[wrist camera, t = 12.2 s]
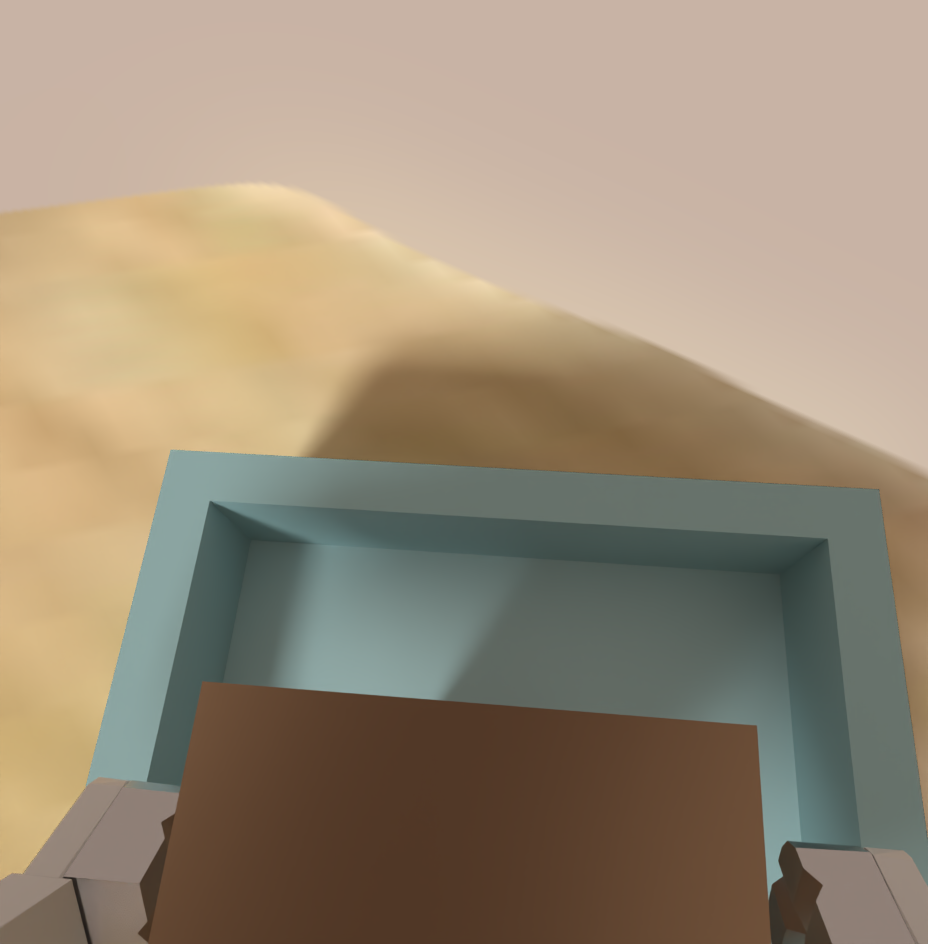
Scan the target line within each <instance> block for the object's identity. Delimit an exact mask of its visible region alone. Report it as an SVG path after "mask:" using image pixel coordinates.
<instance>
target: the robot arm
mask: <svg viewBox="0 0 928 944" xmlns="http://www.w3.org/2000/svg"><path fill="white" fill-rule="evenodd" d="M180 787H181V786H177V785H168V784H160V783H152V782H143V781H135V780H132V781H131V780H122V779H113V778H104V777H98V778H97V779H95V780H94V781H92V782H91V783H89V784H88V785H87V786H86V788H85V789H84V790H83V792H82V793H81V795H80V796H79V797H78V799H77V800H76V801H75V803H74V804H73V806H72V807H71V808H70V810H69V811H68V812H67V814H66V815H65V817H64V818H63V819H62V821H61V822H60V823H59V825H58V826H57V827H56V829H55V830H54V832H53V833H52V834H51V836H50V837H49V838H48V840H47V841H46V843H45V844H44V845H43V847H42V848H41V849H40V851H39V852H38V853H37V855H36V856H35V858H34V859H33V860H32V862H31V863H30V864H29V866H28V867H27V869H26V870H25V871H24V873H23V874H16V873H12V874H10V875H9V876H7V877H5V878H4V879H2V880H0V944H148V941H149V936H150V932H151V927H152V922H153V917H154V912H155V908H156V903H157V898H158V893H159V888H160V883H161V879H162V874H163V869H164V864H165V859H166V854H167V850H168V845H169V840H170V835H171V830H172V826H173V821H174V816H175V811H176V806H177V801H178V797H179V792H180ZM778 862H779V865H780V868H781V871H782V874H783V876H782V877H781V878H780V879H778V880H777V881H776V882H774V883H773V884H772V886H771V891H770V896H769V900H768V902H769V917H770V932H771V943H772V944H928V886H927V885H926V883H925V881H924V879H923V877H922V875H921V874H920V872H919V870H918V868H917V866H916V865H915V863H914V861H913V859H912V858H911V857H910V856H909V855H908V854H907V853H906V852H905V851H903V850H891V849H879V848H868V847H864V848H861V847H860V846H848V845H835V844H822V843H810V842H797V841H786V843H785V844H784V845H783V846H782V848H781V852H780V855H779V859H778Z"/></svg>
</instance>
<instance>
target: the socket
mask: <svg viewBox="0 0 928 944" xmlns="http://www.w3.org/2000/svg"><path fill="white" fill-rule="evenodd" d="M202 681H205V682H217V683H230V684H242V685H255V686H267V687H280V688H292V689H305V690H318V691H330V692H343V693H355V694H368V695H380V696H393V697H406V698H418V699H431V700H443V701H456V702H468V703H481V704H494V705H506V706H519V707H531V708H544V709H556V710H569V711H582V712H594V713H607V714H619V715H632V716H644V717H657V718H669V719H682V720H695V721H707V722H720V723H732V724H745V725H757V733H758V748H759V763H760V779H761V794H762V809H763V825H764V840H765V856H766V871H767V886H768V900H769V896H770V891H771V886H772V884H773V883H774V882H776V881H777V880H778V879H780V878H781V877H782V876H783V874H782V871H781V868H780V865H779V862H778V859H779V855H780V852H781V848H782V846H783V845H784V844H785V843H786V841H797V842H810V843H822V844H835V845H848V846H860V847H861V848H864V847H868V848H879V849H891V850H903V851H905V852H906V853H907V854H908V855H909V856H910V857H911V858H912V859H913V861H914V863H915V865H916V866H917V868H918V870H919V872H920V874H921V875H922V877H923V879H924V881H925V883H926V885H927V886H928V838H927V830H926V823H925V816H924V809H923V802H922V795H921V787H920V780H919V773H918V766H917V759H916V751H915V744H914V737H913V730H912V723H911V716H910V708H909V701H908V694H907V687H906V680H905V672H904V665H903V658H902V651H901V644H900V637H899V629H898V622H897V615H896V608H895V601H894V593H893V586H892V579H891V572H890V565H889V558H888V550H887V543H886V536H885V529H884V522H883V514H882V507H881V500H880V493H879V489H863V488H845V487H827V486H809V485H791V484H773V483H756V482H738V481H720V480H702V479H684V478H666V477H649V476H631V475H613V474H595V473H577V472H559V471H541V470H524V469H506V468H488V467H470V466H452V465H434V464H417V463H399V462H381V461H363V460H345V459H327V458H309V457H292V456H274V455H256V454H238V453H220V452H202V451H185V450H171V451H170V455H169V459H168V463H167V467H166V471H165V475H164V479H163V483H162V487H161V491H160V495H159V499H158V502H157V506H156V510H155V514H154V518H153V522H152V526H151V530H150V534H149V538H148V542H147V546H146V550H145V554H144V558H143V562H142V566H141V570H140V574H139V578H138V582H137V586H136V590H135V593H134V597H133V601H132V605H131V609H130V613H129V617H128V621H127V625H126V629H125V633H124V637H123V641H122V645H121V649H120V653H119V657H118V661H117V665H116V669H115V673H114V677H113V681H112V684H111V688H110V692H109V696H108V700H107V704H106V708H105V712H104V716H103V720H102V724H101V728H100V732H99V736H98V740H97V744H96V748H95V752H94V756H93V760H92V764H91V768H90V772H89V775H88V779H87V783H86V786H87V785H88V784H89V783H91V782H92V781H94V780H95V779H97V778H98V777H104V778H113V779H122V780H131V781H132V780H135V781H143V782H152V783H160V784H168V785H177V786H181V782H182V777H183V772H184V768H185V763H186V758H187V753H188V748H189V744H190V739H191V734H192V729H193V724H194V719H195V715H196V710H197V705H198V700H199V695H200V690H201V686H202ZM85 788H86V787H85ZM771 944H772V943H771Z"/></svg>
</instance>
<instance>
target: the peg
mask: <svg viewBox="0 0 928 944" xmlns="http://www.w3.org/2000/svg"><path fill="white" fill-rule="evenodd" d="M148 944H771V932H770V917H769V902H768V886H767V871H766V856H765V840H764V825H763V809H762V794H761V779H760V763H759V748H758V733H757V725H745V724H732V723H720V722H707V721H695V720H682V719H669V718H657V717H644V716H632V715H619V714H607V713H594V712H582V711H569V710H556V709H544V708H531V707H519V706H506V705H494V704H481V703H468V702H456V701H443V700H431V699H418V698H406V697H393V696H380V695H368V694H355V693H343V692H330V691H318V690H305V689H292V688H280V687H267V686H255V685H242V684H230V683H217V682H205V681H202V686H201V690H200V695H199V700H198V705H197V710H196V715H195V719H194V724H193V729H192V734H191V739H190V744H189V748H188V753H187V758H186V763H185V768H184V772H183V777H182V782H181V787H180V792H179V797H178V801H177V806H176V811H175V816H174V821H173V826H172V830H171V835H170V840H169V845H168V850H167V854H166V859H165V864H164V869H163V874H162V879H161V883H160V888H159V893H158V898H157V903H156V908H155V912H154V917H153V922H152V927H151V932H150V936H149V941H148Z"/></svg>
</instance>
